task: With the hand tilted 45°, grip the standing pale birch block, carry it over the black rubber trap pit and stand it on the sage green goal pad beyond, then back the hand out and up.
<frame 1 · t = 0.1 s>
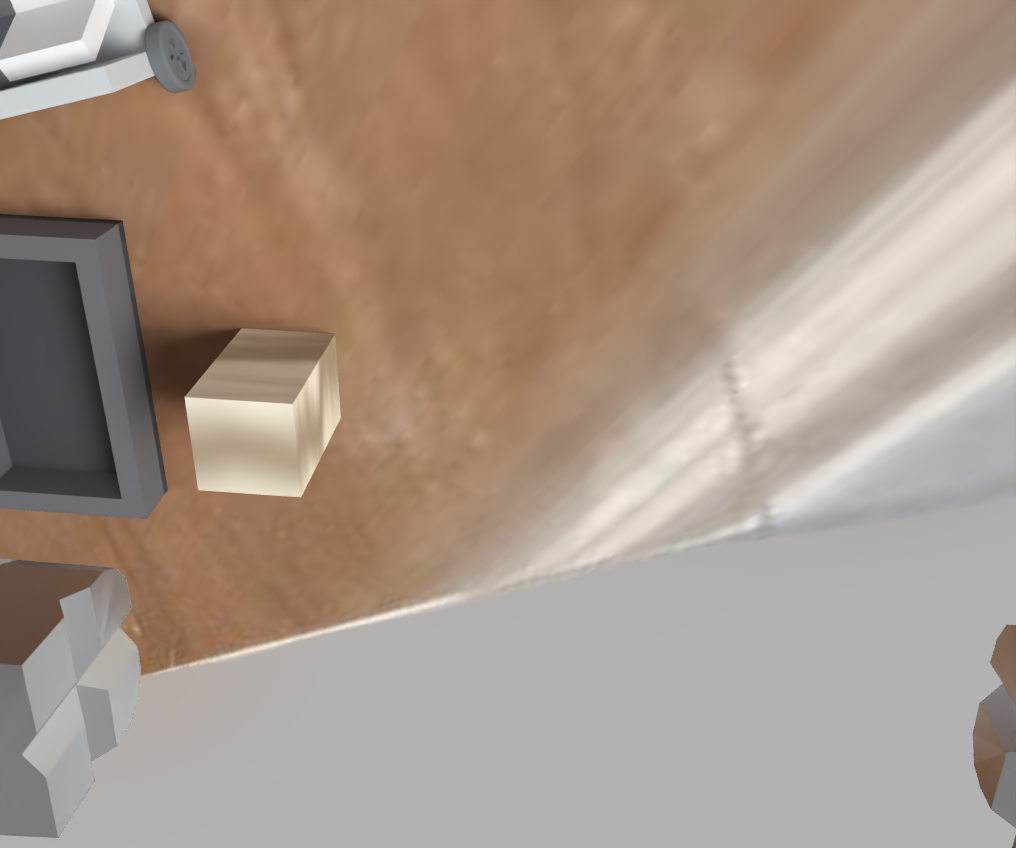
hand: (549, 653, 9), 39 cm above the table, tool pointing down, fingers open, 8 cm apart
trap pit: (57, 359, 53), on the table
birch block: (292, 373, 52), on the table
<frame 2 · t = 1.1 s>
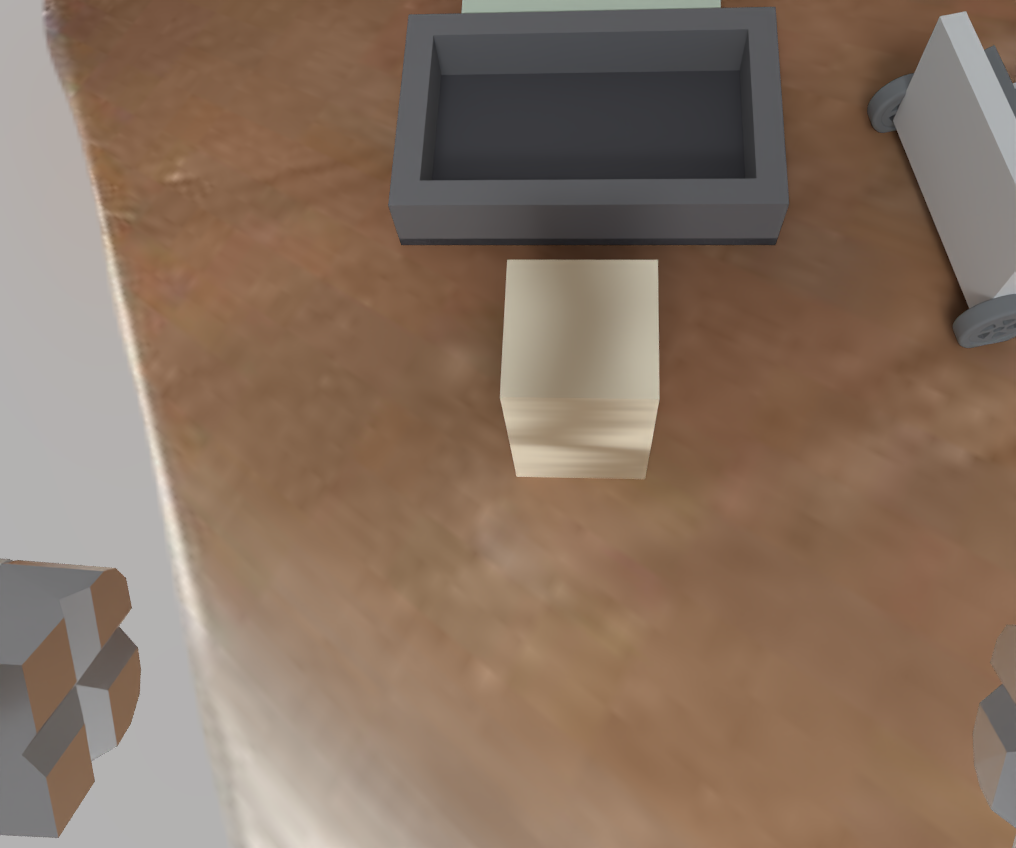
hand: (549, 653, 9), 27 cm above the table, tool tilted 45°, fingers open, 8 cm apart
trap pit: (587, 148, 43), on the table
birch block: (581, 418, 39), on the table
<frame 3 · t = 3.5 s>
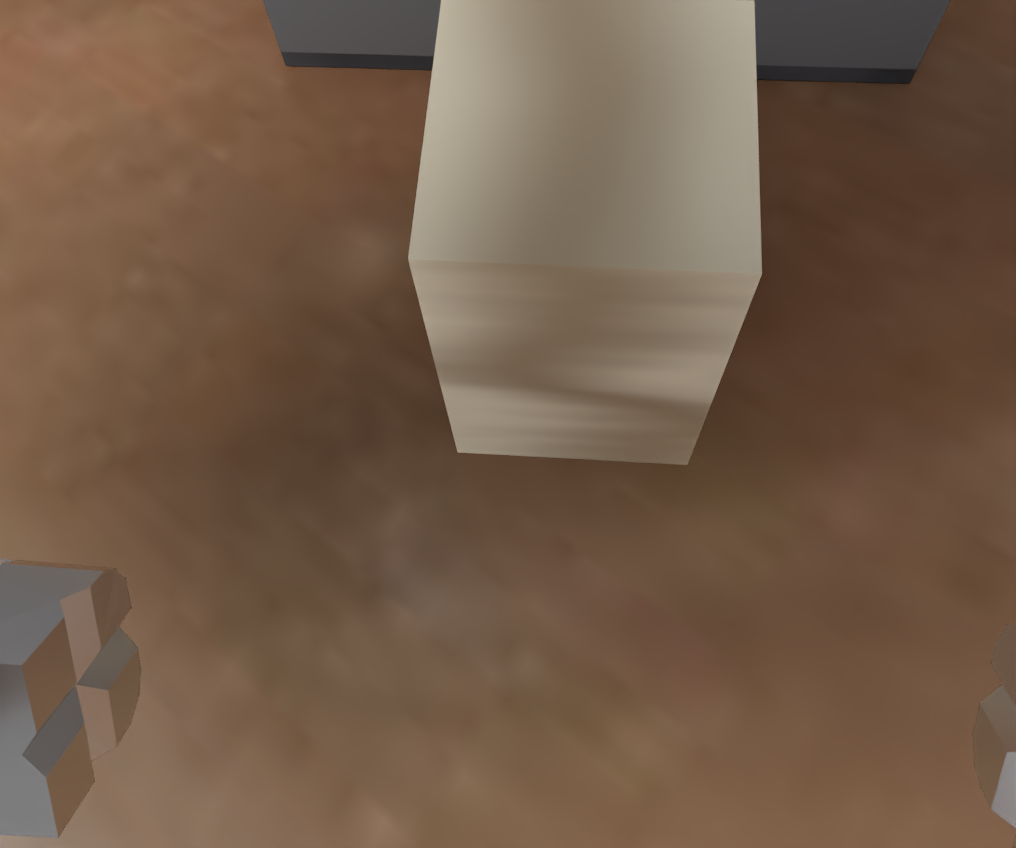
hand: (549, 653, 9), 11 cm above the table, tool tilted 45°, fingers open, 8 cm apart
birch block: (576, 355, 22), on the table
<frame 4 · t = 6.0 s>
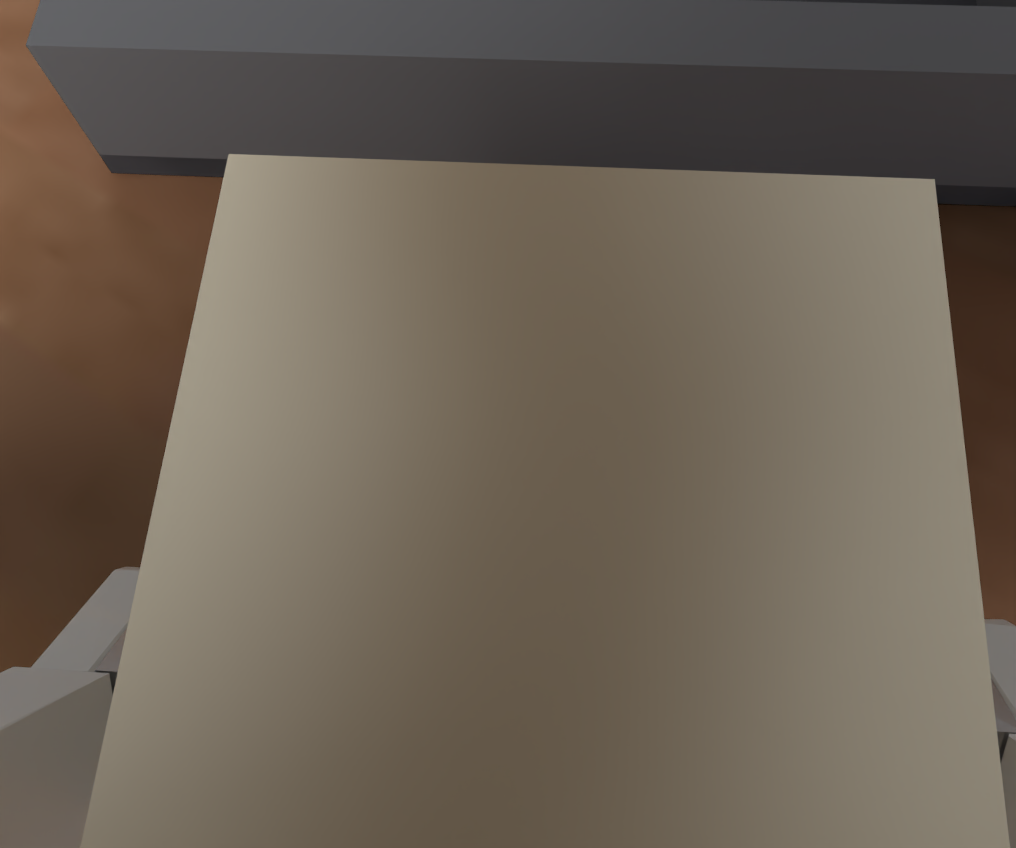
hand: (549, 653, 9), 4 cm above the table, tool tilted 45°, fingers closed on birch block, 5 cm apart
birch block: (549, 676, 13), on the table, touching gripper
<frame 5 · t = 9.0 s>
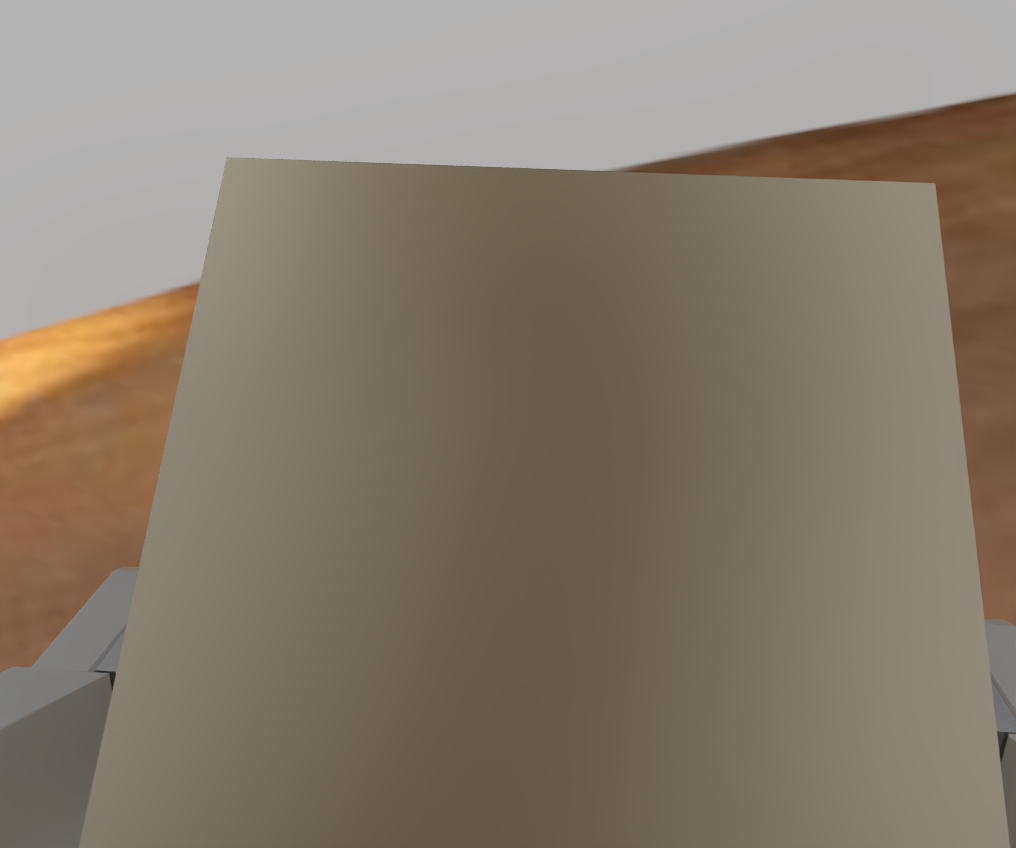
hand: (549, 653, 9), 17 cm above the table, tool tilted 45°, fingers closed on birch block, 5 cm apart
birch block: (549, 679, 13), point 12 cm above the table, touching gripper
when the fingers open (7 cm above the table, at t = 12.0 s): birch block drops 1 cm, resting on goal pad.
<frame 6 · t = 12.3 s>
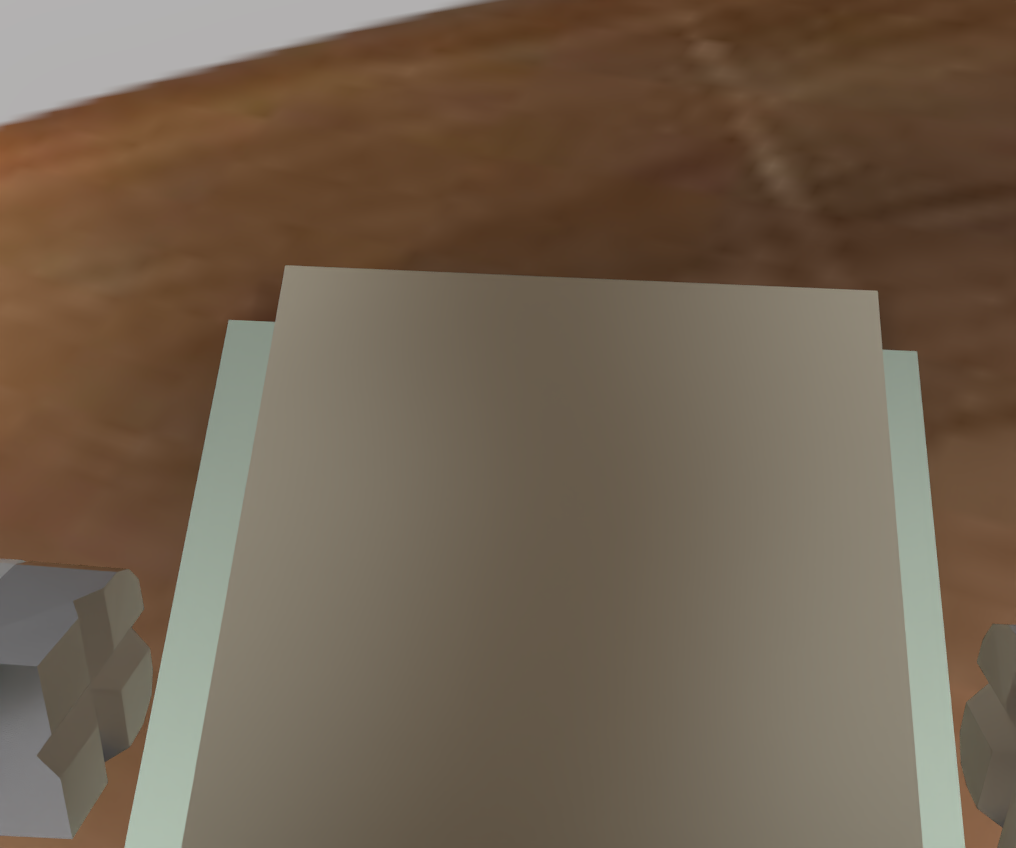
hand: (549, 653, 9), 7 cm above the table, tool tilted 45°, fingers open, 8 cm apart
birch block: (552, 692, 15), point 1 cm above the table, touching goal pad
goal pad: (547, 695, 16), on the table
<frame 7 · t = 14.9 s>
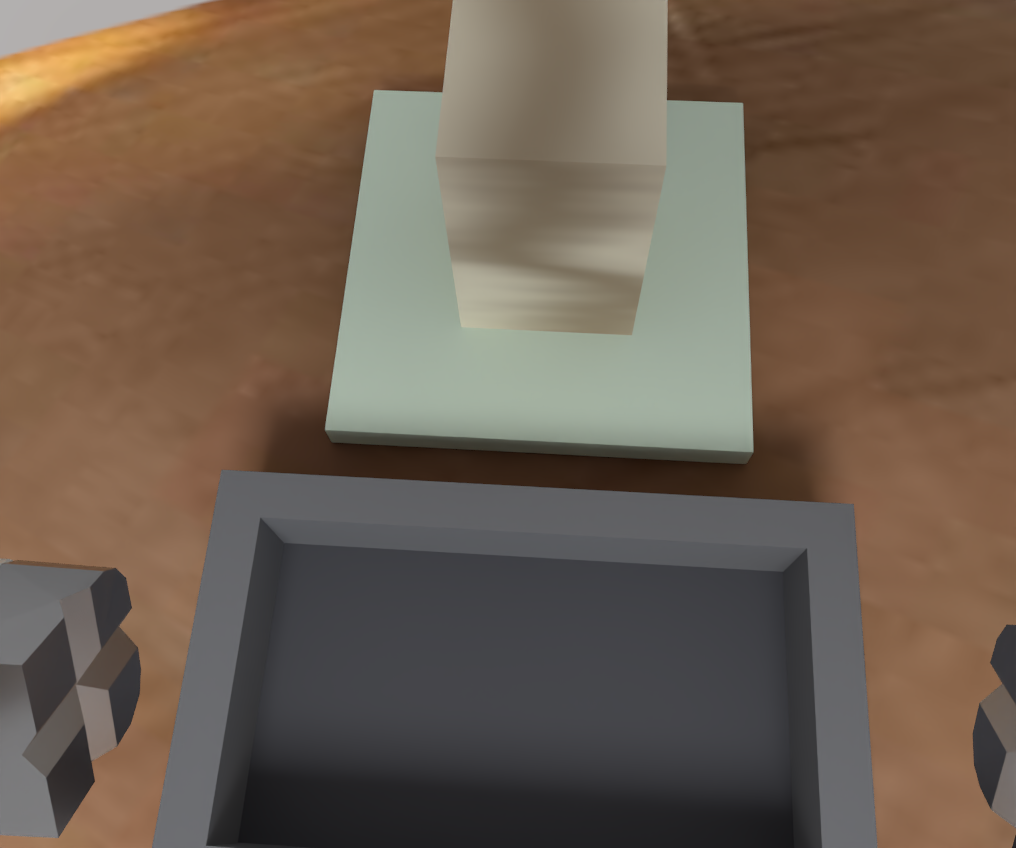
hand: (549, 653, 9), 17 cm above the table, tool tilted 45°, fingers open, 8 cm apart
trap pit: (522, 703, 25), on the table
birch block: (550, 257, 29), point 1 cm above the table, touching goal pad
goal pad: (547, 272, 30), on the table
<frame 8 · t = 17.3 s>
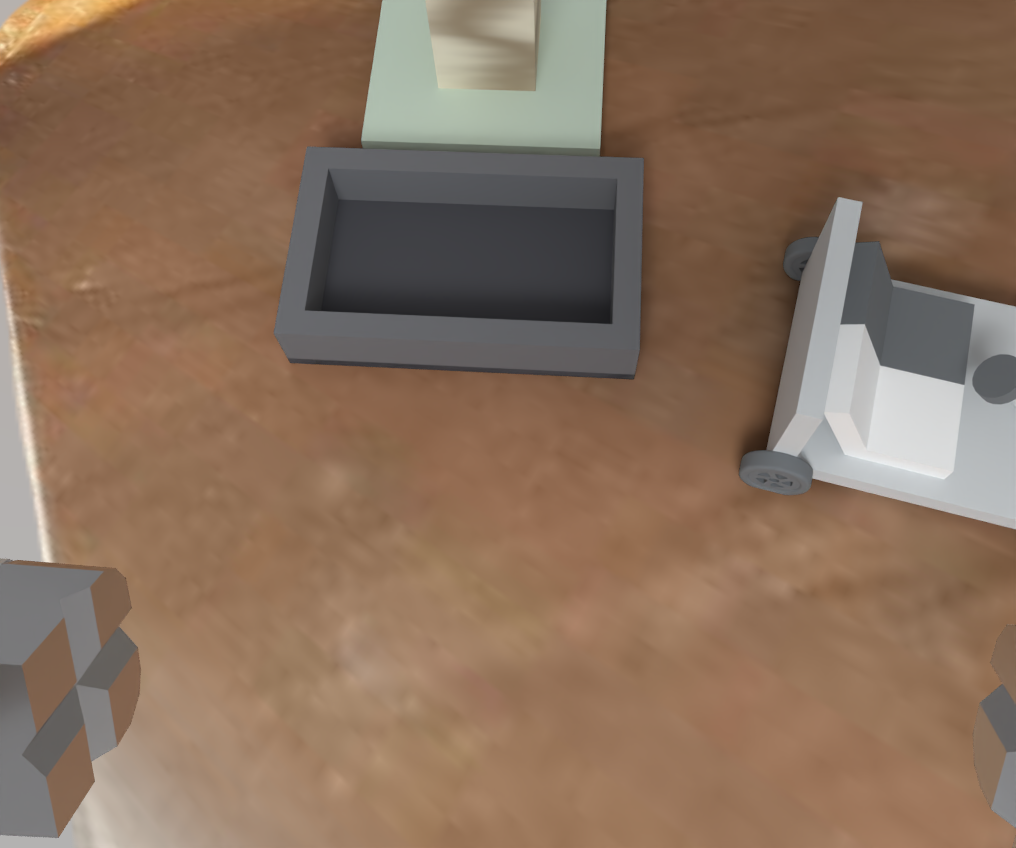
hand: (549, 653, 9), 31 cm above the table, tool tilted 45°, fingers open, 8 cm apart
trap pit: (469, 277, 47), on the table
birch block: (490, 51, 51), point 1 cm above the table, touching goal pad
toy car: (954, 418, 44), on the table
goal pad: (489, 64, 52), on the table
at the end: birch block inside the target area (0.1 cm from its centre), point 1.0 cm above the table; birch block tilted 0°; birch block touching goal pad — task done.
